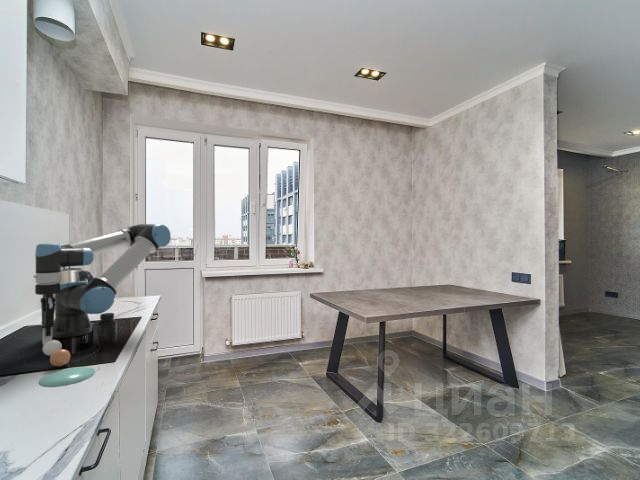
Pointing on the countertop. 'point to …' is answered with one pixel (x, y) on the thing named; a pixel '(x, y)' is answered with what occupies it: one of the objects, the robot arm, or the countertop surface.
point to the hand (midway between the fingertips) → (47, 343)
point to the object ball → (60, 357)
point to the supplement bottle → (107, 329)
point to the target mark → (66, 376)
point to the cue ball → (51, 347)
